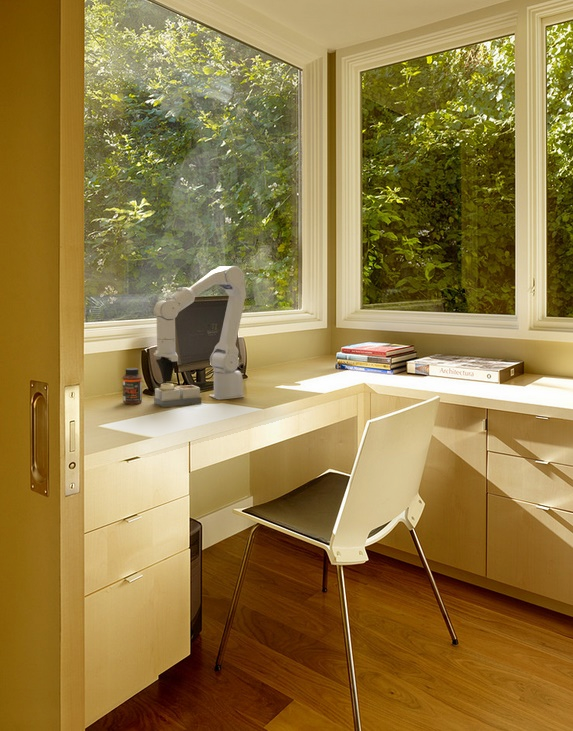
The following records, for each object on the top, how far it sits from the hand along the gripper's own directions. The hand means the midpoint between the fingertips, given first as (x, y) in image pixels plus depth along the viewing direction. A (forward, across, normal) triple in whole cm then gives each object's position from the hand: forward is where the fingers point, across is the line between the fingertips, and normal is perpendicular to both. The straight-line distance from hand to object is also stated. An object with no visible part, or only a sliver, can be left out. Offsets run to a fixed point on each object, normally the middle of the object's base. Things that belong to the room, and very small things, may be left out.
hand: (167, 381), depth 198 cm
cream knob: (+3, 0, 0) cm, 3 cm away
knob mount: (+8, 0, +4) cm, 8 cm away
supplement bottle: (+8, -8, -9) cm, 14 cm away
